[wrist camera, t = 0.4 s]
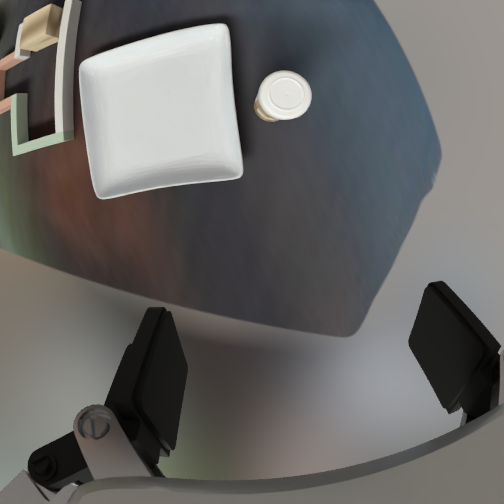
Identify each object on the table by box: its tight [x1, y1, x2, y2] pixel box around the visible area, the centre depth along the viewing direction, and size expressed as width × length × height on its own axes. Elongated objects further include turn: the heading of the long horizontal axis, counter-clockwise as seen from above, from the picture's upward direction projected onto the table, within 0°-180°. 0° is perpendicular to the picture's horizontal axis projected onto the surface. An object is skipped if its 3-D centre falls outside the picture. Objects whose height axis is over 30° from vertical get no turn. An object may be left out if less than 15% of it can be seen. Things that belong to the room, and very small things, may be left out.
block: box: [19, 4, 63, 52], centre depth 21 cm, size 6×6×5 cm
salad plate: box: [79, 23, 243, 199], centre depth 31 cm, size 21×21×3 cm
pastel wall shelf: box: [0, 0, 82, 156], centre depth 26 cm, size 24×19×3 cm
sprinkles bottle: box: [254, 70, 312, 122], centre depth 27 cm, size 5×5×14 cm
